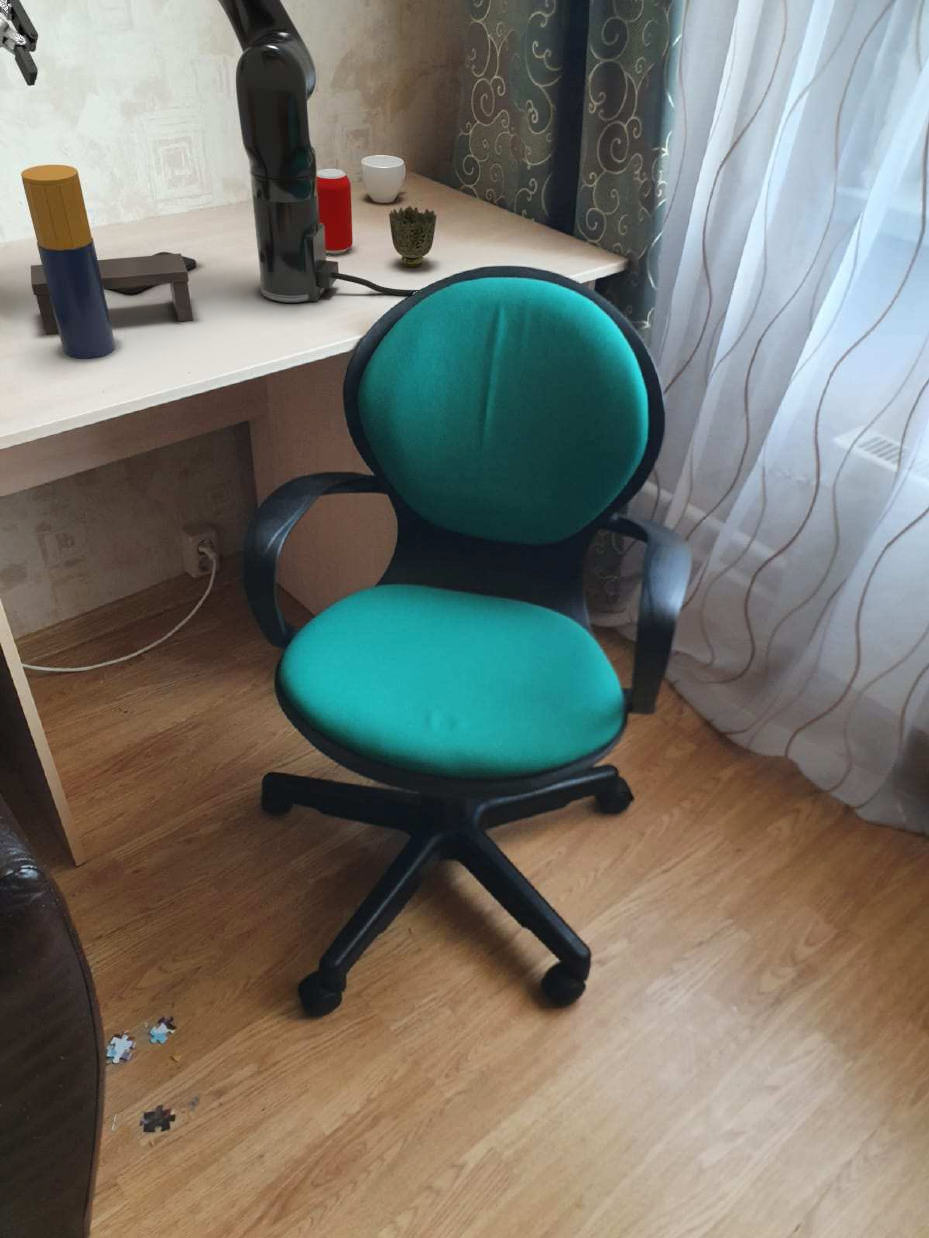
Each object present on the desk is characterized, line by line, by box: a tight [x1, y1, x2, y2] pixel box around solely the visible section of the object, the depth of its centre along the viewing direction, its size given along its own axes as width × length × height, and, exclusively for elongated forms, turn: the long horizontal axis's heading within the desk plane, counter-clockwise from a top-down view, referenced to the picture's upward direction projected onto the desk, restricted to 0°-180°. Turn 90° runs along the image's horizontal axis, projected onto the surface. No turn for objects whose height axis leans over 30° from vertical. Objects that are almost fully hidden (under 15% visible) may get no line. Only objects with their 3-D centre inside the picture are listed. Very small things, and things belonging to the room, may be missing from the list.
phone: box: [112, 251, 197, 294], centre depth 146 cm, size 7×1×15 cm
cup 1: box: [360, 154, 407, 204], centre depth 177 cm, size 8×10×7 cm
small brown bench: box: [30, 253, 194, 336], centre depth 132 cm, size 20×7×7 cm, turn 110°
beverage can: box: [317, 168, 354, 255], centre depth 154 cm, size 6×6×12 cm
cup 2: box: [388, 205, 437, 268], centre depth 152 cm, size 8×7×8 cm
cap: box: [20, 164, 93, 250], centre depth 115 cm, size 6×6×8 cm
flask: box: [36, 237, 116, 360], centre depth 121 cm, size 7×7×18 cm
